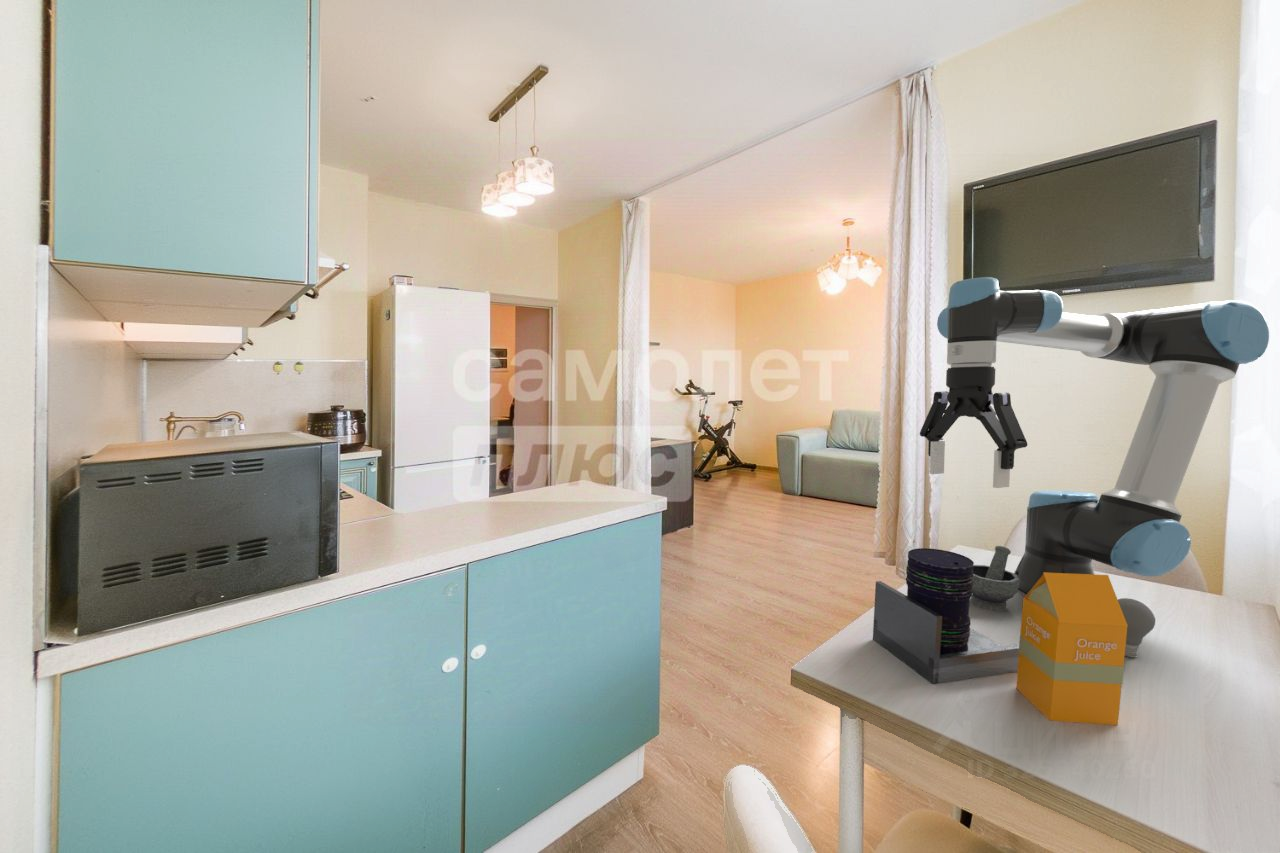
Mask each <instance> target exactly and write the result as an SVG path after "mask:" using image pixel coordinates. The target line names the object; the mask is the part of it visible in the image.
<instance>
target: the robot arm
mask: <svg viewBox="0 0 1280 853" xmlns="http://www.w3.org/2000/svg"><path fill="white" fill-rule="evenodd" d="M999 283H1000V282H999V280H998V279H997V278H995V277H992V276H991V277H990V276H988V277H987V276H984V277H982V276H981V277H973V278H967V279H962V280H958V281H956V282H954V283H953V284H951V286H950V287H949V291H948V292H949V294H948V304H947V306H946V307H945V308H944V309H942V310H941V311H940V313H939V314H938V317H937V323H936V325H937V326H936V327H937V330H938V332H939V334H940V335H941V336H942V337H944V338H945V339H946V340H947V344H946V345H947V352H946V353H947V354H946V356H947V357H946V363H947V365H950V367H948V368H947V369H946V377H945V378H946V379H945V381H946V382H945V385H946V387H947V388H949V389H948V391H945V390H944V391H943V390H942V391H935V392H934V393H933V400H932V404H931V406H930V408H929V410H928V413H927V416H926V417H925V420H924V423H923V424H922V427H921V429H920V431H919V435H920V437H924V438H926V439H927V441H928V445H927V446H928V448H927V449H928V452H927V454H928V456H929V474H930V475H939V474H945V454H946V453H945V450H946V449H945V448H946V447H945V446H946V441H945V440H944V438H943V437H944V436H945V435H946V433H947V432H948V431H949V430H950V428H952V426H953V425H954V424H955V422H956V421H957V420H958V419H959V418H960V417H967V418H975V419H976V420H978V421H979V422H980V423H981V424H982V426H983V427H984V429H985V430H986V431H987V433H988V435H989V436H990V438H991V439H992V440H993V442H994V443H995V445H996V446H997V447H998V448H997V449H994V452H993V473H992V478H993V479H992V488H994V489H995V488H996V489H1001V488H1009V487H1010V480H1011V478H1010V474H1011V470H1013V468H1014V467H1015V451H1016V450H1019V449H1023V448H1026V447H1028V442H1027V439H1026V437H1025V435H1024V432H1023V429H1022V427H1021V425H1020V423H1019V421H1018V418H1017V416H1016V413H1015V412H1014V411H1015V410H1014V409H1013V406H1012V401H1011V394H1010V393H1009V392H994V393H993V391H992V390H993V387H994V386H995V384H996V368H995V366H992V365H993V364H996V363H997V342H1000V343H1001V342H1002V343H1008V344H1016V345H1023V346H1024V345H1025V346H1033V347H1043V348H1051V349H1059V350H1068V351H1074V352H1075V351H1077V352H1080V353H1081V354H1083V355H1084V356H1086V357H1087V358H1088V357H1089V358H1095V359H1102V360H1109V361H1113V362H1114V361H1115V362H1121V363H1128V364H1133V365H1143V366H1148V368H1149V370H1150V371H1151V372H1152V373H1153V374H1154V375H1155V378H1154V381H1153V383H1152V386H1151V388H1150V392H1149V394H1148V396H1147V400H1146V402H1145V404H1144V408H1143V411H1142V413H1141V415H1140V418H1139V421H1138V424H1137V426H1136V429H1135V432H1134V434H1133V437H1132V440H1131V442H1130V445H1129V448H1128V450H1127V453H1126V456H1125V459H1124V461H1123V463H1122V465H1121V466H1122V467H1121V468H1120V471H1119V474H1118V477H1117V480H1116V483H1115V485H1114V487H1113V488H1112V489H1110V490H1107V491H1104V492H1102V493H1100V497H1099V499H1098V496H1097V494H1095V493H1093V492H1084V491H1070V490H1069V491H1068V490H1038V491H1034V492H1032V493H1031V494H1030V496H1029V501H1028V506H1027V508H1026V527H1025V528H1026V530H1025V531H1026V532H1025V548H1024V553H1023V555H1022V557H1021V559H1020V561H1019V563H1018V565H1017V567H1016V569H1015V570H1014V572H1013V573H1014V574H1015V575H1016V576H1017V577H1018V578H1019V579H1020V580H1019V587H1018V590H1019V591H1022V592H1023V593H1025V594H1028V593H1029V591H1030V590H1031V589H1032V588H1033V586H1034V585H1035V584H1036V583H1037V581H1038V580H1039V579H1040V578H1041V576H1042V575H1043V574H1044V573H1043V572H1047V573H1070V574H1094V575H1096V574H1095V573H1094V572H1095V571H1094V569H1093V565H1092V564H1093V561H1096V562H1098V563H1102V564H1105V565H1107V566H1110V567H1113V568H1115V569H1116V570H1119V571H1123V572H1125V573H1131V574H1135V575H1138V576H1141V577H1146V578H1149V577H1150V578H1154V577H1161V576H1163V575H1166V574H1168V573H1170V572H1172V571H1174V570H1175V569H1177V568H1178V567H1179V566H1180V565H1181V564H1182V563H1183V562H1184V560H1185V559H1186V558H1187V557H1188V554H1189V552H1190V549H1191V546H1192V541H1191V540H1192V539H1190V537H1191V535H1190V531H1189V530H1188V528H1187V527H1186V526H1185V525H1183V524H1182V523H1181V518H1182V515H1183V514H1182V512H1181V511H1180V510H1179V509H1178V507H1177V505H1176V504H1175V502H1176V499H1177V497H1178V493H1179V491H1180V489H1181V486H1182V484H1183V481H1184V477H1185V476H1186V473H1187V470H1188V467H1189V465H1190V462H1191V459H1192V457H1193V454H1194V451H1195V449H1196V447H1197V444H1198V441H1199V438H1200V436H1201V433H1202V430H1203V427H1204V425H1205V423H1206V420H1207V417H1208V414H1209V412H1210V409H1211V407H1212V404H1213V402H1214V399H1215V396H1216V393H1217V391H1218V388H1219V386H1220V385H1221V384H1222V383H1224V382H1228V381H1230V380H1232V379H1234V378H1235V377H1236V374H1237V372H1238V369H1239V366H1240V365H1242V364H1243V365H1246V364H1249V363H1252V362H1255V361H1256V360H1258V359H1259V358H1260V357H1262V356H1263V355H1264V354H1265V352H1266V350H1267V348H1268V345H1269V342H1270V328H1269V325H1268V324H1269V323H1268V322H1267V320H1266V318H1265V316H1264V314H1263V313H1262V311H1261V310H1260V309H1259V308H1258V307H1257V306H1255V305H1253V304H1252V303H1250V302H1248V301H1244V300H1238V299H1237V300H1235V299H1234V300H1224V301H1218V300H1211V301H1209V302H1204V303H1197V304H1189V305H1181V306H1173V307H1164V308H1155V309H1148V310H1141V311H1134V312H1127V313H1126V312H1125V313H1109V312H1101V313H1100V312H1099V313H1098V314H1094V315H1087V314H1086V315H1085V314H1079V313H1070V312H1063V310H1064V303H1063V300H1062V298H1061V296H1060V295H1058V293H1056V292H1054V291H1050V290H1040V289H1034V290H1031V289H1030V290H1001V288H1000V286H999ZM948 404H949V405H948ZM991 405H993V407H992V406H991Z"/></svg>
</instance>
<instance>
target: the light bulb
mask: <svg viewBox="0 0 1280 853" xmlns="http://www.w3.org/2000/svg"><path fill="white" fill-rule="evenodd" d="M1117 600H1118V602H1119V605H1120V607H1121V610H1122V612H1123V615H1124V618H1125V620H1126V623H1127V625H1128V626H1127V636H1126V646H1125V656H1124V657H1128V658H1132V657H1133V658H1134V657H1135V658H1136V657H1138V655H1139V646H1140V645H1141V644H1142V642H1143V639H1144V637H1145V636H1147V635H1148V634H1149V633H1151V631H1153V629H1154V628H1155V625H1156V617H1155V615H1154V613H1153V611H1152V610H1151V609H1150V607H1148V606H1147V605H1146V604H1144V603H1143V602H1141V601H1139V600H1136V599H1133V598H1125V597H1124V598H1117Z"/></svg>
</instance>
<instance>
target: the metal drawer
mask: <svg viewBox="0 0 1280 853" xmlns="http://www.w3.org/2000/svg"><path fill="white" fill-rule="evenodd" d="M874 591H875V592H874V608H873V630H872V633H873V634H872V640H873V641H874V642H875V643H877V644H878V645H880V646H881V647H882V648H884V649H885V650H886V651H888V652H889V653H890V654H891V655H893V656H894V657H896V658H897V659H898V660H899V661H901V662H903V663H904V664H905V665H906V666H908V667H909V668H910V669H912V670H914V672H916V673H917V674H919V675H920V676H921V677H923V678H924V679H925V680H926V681H928V682H929V683H931V684H932V685H936V684H942V683H949V682H955V681H963V680H968V679H976V678H982V677H983V678H984V677H990V676H995V675H996V676H997V675H1002V674H1010V673H1015V672H1017V673H1018V660H1019V644H1012V645H1011V644H1010V645H1002V644H1000V643H998V642H996V641H995V640H993V639H990V638H989V637H987V636H985V635H984V634H982V633H980V632H978V631H976V630H975V629H973V628H971V627H970V637H969V641H968V643H967V644H968V651H965V652H958V653H951V654H943V655H940V646H941V630H942V616H941V615H940V614H938V613H936V612H934V611H933V610H931V609H929V608H927V607H925V606H924V605H922V604H920V603H918V602H917V601H915V600H913V599H911V598H910V597H908V596H907V594H904V593H903V592H901V591H899V590H897V589H896V588H894V587H893V586H890V585H888V584H886V583H885V582H883V581H881V580H878V581H877V580H876V581H875V590H874Z"/></svg>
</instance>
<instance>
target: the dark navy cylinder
mask: <svg viewBox="0 0 1280 853" xmlns="http://www.w3.org/2000/svg"><path fill="white" fill-rule="evenodd" d="M906 563H907V564H906V571H905V572H906V573H905V574H906V577H905V581H906V582H905V584H906V586H907V593H906V596H908V597H910V598H911V599H913V600H915V601H917V602H918V603H920V604H922V605H924V606H925V607H927V608H929V609H931V610H933V611H934V612H936V613H938V614H940V615H941V616H942V630H941V646H940V655H943V654H951V653H958V652H965V651H968V644H967V643H968V641H969V637H970V628H971V625H972V624H971V617H970V614H969V613H970V601H971V597H972V593H973V590H972V586H973V579H974V578H973V568H974V565H975V563H974V561H973V560H972V559H971V558H969V557H968V556H965V555H963V554H960V553H957V552H953V551H950V550H944V549H940V548H939V549H938V548H927V547H926V548H925V547H922V548H921V547H920V548H913V549H909V551H908V552H907V562H906Z"/></svg>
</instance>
